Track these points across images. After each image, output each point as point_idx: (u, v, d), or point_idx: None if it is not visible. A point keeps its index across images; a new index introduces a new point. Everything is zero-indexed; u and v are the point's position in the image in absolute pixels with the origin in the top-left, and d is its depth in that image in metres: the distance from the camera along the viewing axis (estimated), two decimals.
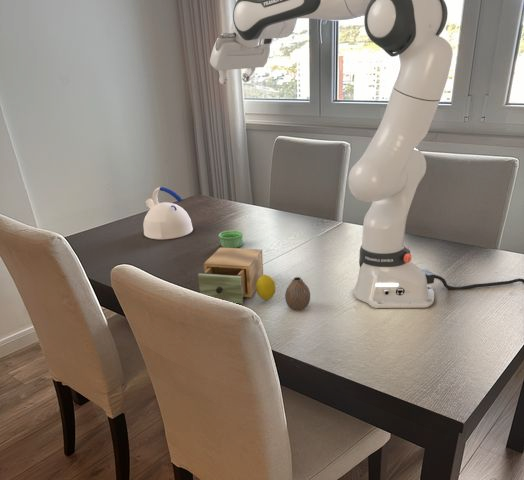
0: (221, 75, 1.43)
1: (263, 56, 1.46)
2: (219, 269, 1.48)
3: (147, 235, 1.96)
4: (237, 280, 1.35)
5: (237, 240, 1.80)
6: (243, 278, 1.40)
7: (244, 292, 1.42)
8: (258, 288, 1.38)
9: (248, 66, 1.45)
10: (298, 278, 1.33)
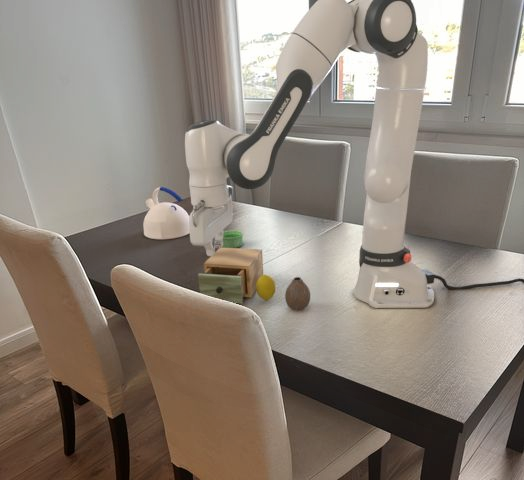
0: (208, 247, 1.19)
1: (228, 211, 1.25)
2: (219, 269, 1.48)
3: (147, 235, 1.96)
4: (237, 280, 1.35)
5: (237, 240, 1.80)
6: (243, 278, 1.40)
7: (244, 292, 1.42)
8: (258, 288, 1.38)
9: (222, 227, 1.22)
10: (298, 278, 1.33)
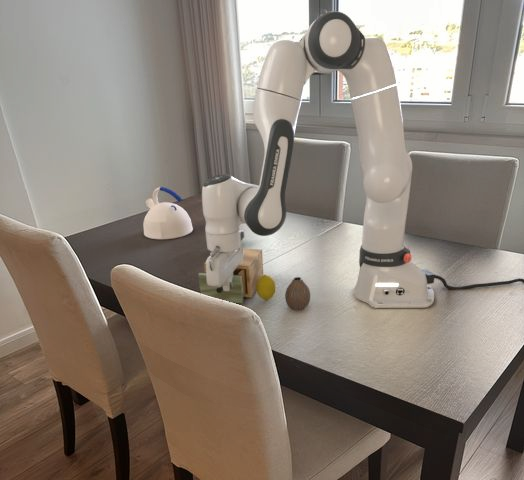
0: (225, 283, 1.32)
1: (240, 252, 1.37)
2: None
3: (147, 235, 1.96)
4: (237, 280, 1.35)
5: None
6: (243, 278, 1.40)
7: (244, 292, 1.42)
8: (258, 288, 1.38)
9: (235, 267, 1.34)
10: (298, 278, 1.33)
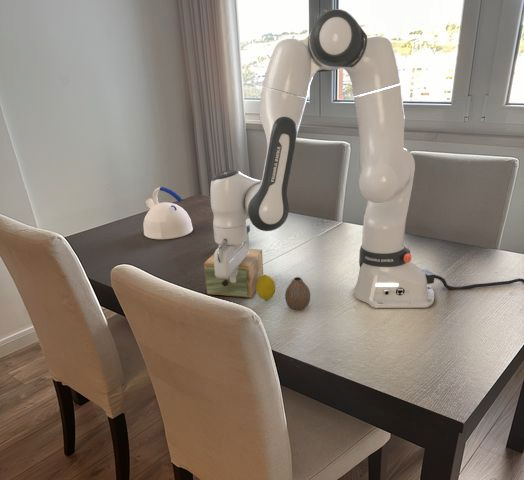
0: (232, 275, 1.37)
1: (246, 245, 1.41)
2: None
3: (147, 235, 1.96)
4: (243, 273, 1.39)
5: None
6: None
7: None
8: (258, 288, 1.38)
9: (241, 260, 1.38)
10: (298, 278, 1.33)
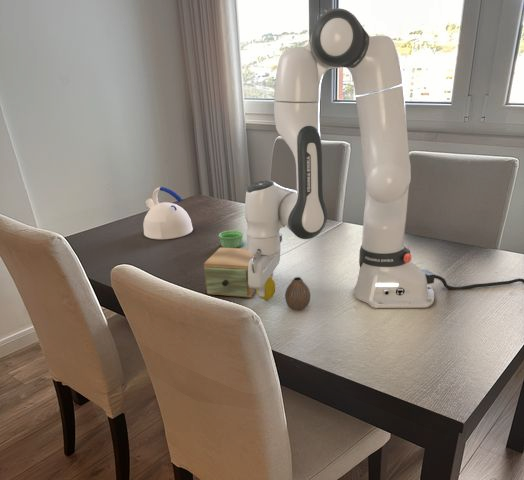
0: (261, 289, 1.35)
1: (277, 254, 1.42)
2: None
3: (147, 235, 1.96)
4: (243, 273, 1.39)
5: (237, 240, 1.80)
6: None
7: None
8: None
9: (273, 270, 1.39)
10: (298, 278, 1.33)
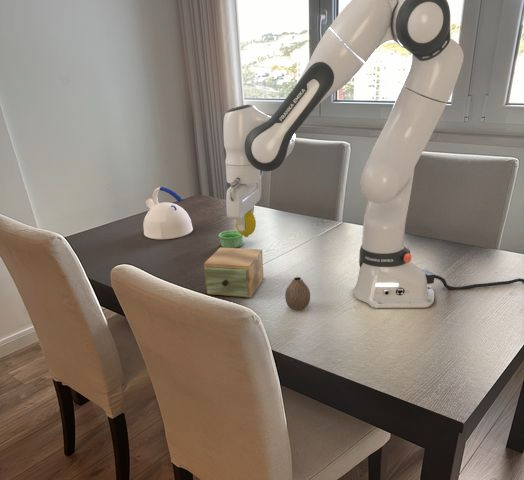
0: (240, 222, 1.30)
1: (258, 189, 1.37)
2: None
3: (147, 235, 1.96)
4: (243, 273, 1.39)
5: (237, 240, 1.80)
6: None
7: None
8: None
9: (253, 204, 1.34)
10: (298, 278, 1.33)
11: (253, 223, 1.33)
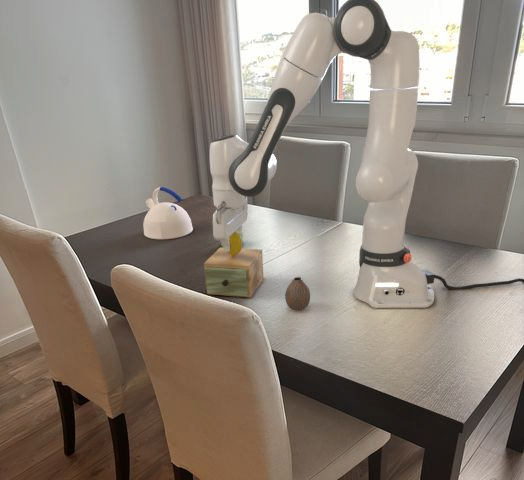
0: (225, 244, 1.38)
1: (244, 211, 1.46)
2: None
3: (147, 235, 1.96)
4: (243, 273, 1.39)
5: None
6: None
7: None
8: None
9: (239, 225, 1.43)
10: (298, 278, 1.33)
11: (239, 243, 1.42)
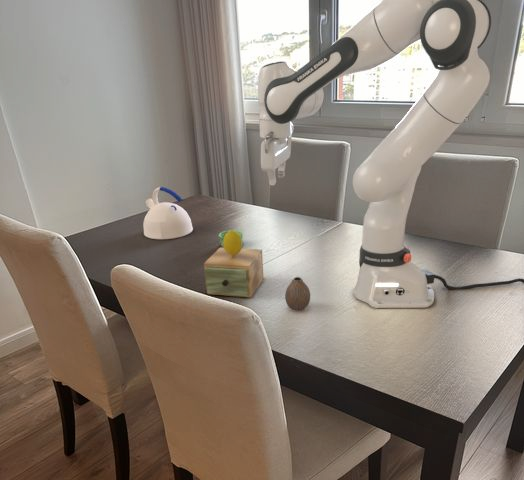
0: (271, 177, 1.37)
1: (288, 147, 1.45)
2: None
3: (147, 235, 1.96)
4: (243, 273, 1.39)
5: None
6: None
7: None
8: (225, 243, 1.42)
9: (284, 160, 1.42)
10: (298, 278, 1.33)
11: (239, 243, 1.42)
